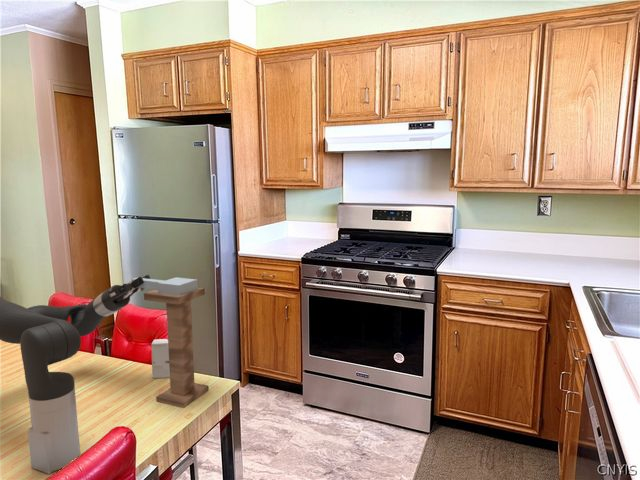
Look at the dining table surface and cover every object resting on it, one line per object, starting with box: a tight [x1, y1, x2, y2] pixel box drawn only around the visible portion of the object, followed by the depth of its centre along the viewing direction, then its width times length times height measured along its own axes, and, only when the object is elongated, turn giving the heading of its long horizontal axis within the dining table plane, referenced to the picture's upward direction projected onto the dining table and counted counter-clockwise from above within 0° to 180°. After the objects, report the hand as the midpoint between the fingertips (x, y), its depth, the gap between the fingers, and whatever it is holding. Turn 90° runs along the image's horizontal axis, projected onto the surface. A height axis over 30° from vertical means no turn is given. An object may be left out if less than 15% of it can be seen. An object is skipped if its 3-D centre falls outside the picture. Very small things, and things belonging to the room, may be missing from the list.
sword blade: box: [131, 276, 199, 296], centre depth 136 cm, size 8×21×3 cm, turn 67°
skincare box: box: [151, 338, 170, 379], centre depth 152 cm, size 6×4×12 cm
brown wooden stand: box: [143, 287, 209, 409], centre depth 136 cm, size 12×12×33 cm
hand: (145, 278), depth 138 cm, fingers closed on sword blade, 2 cm apart
